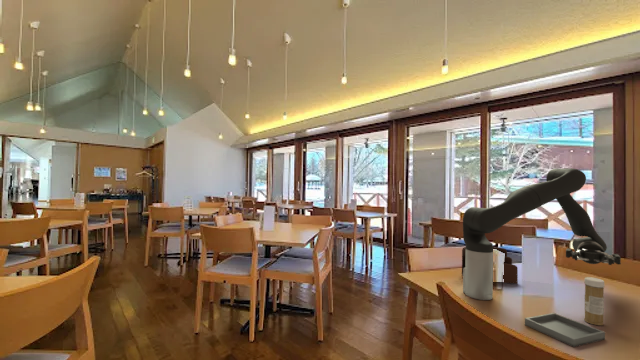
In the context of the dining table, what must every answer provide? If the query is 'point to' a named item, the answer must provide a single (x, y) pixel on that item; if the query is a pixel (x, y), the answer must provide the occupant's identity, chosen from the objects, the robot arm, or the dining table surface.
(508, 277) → the letter holder
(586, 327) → the condiment tray
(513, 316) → the dining table surface
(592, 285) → the sprinkles bottle
